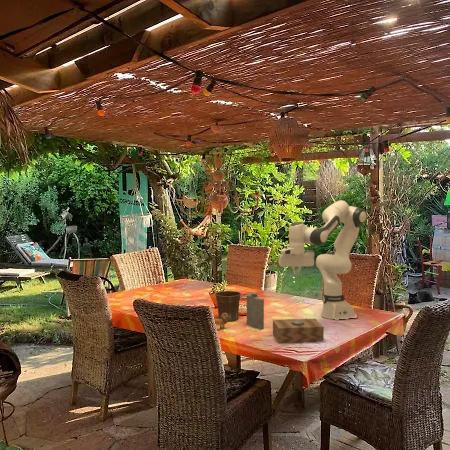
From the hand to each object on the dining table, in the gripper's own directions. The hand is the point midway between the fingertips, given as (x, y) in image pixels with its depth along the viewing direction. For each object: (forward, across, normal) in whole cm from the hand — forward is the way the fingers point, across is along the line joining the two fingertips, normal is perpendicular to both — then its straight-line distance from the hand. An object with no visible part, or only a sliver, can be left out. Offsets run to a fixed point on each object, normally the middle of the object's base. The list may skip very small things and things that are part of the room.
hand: (296, 274), depth 269 cm
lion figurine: (+31, +46, 0) cm, 56 cm away
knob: (+29, +4, +20) cm, 35 cm away
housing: (+31, +4, +20) cm, 37 cm away
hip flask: (+31, +24, -4) cm, 40 cm away
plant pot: (+31, +38, -21) cm, 54 cm away
